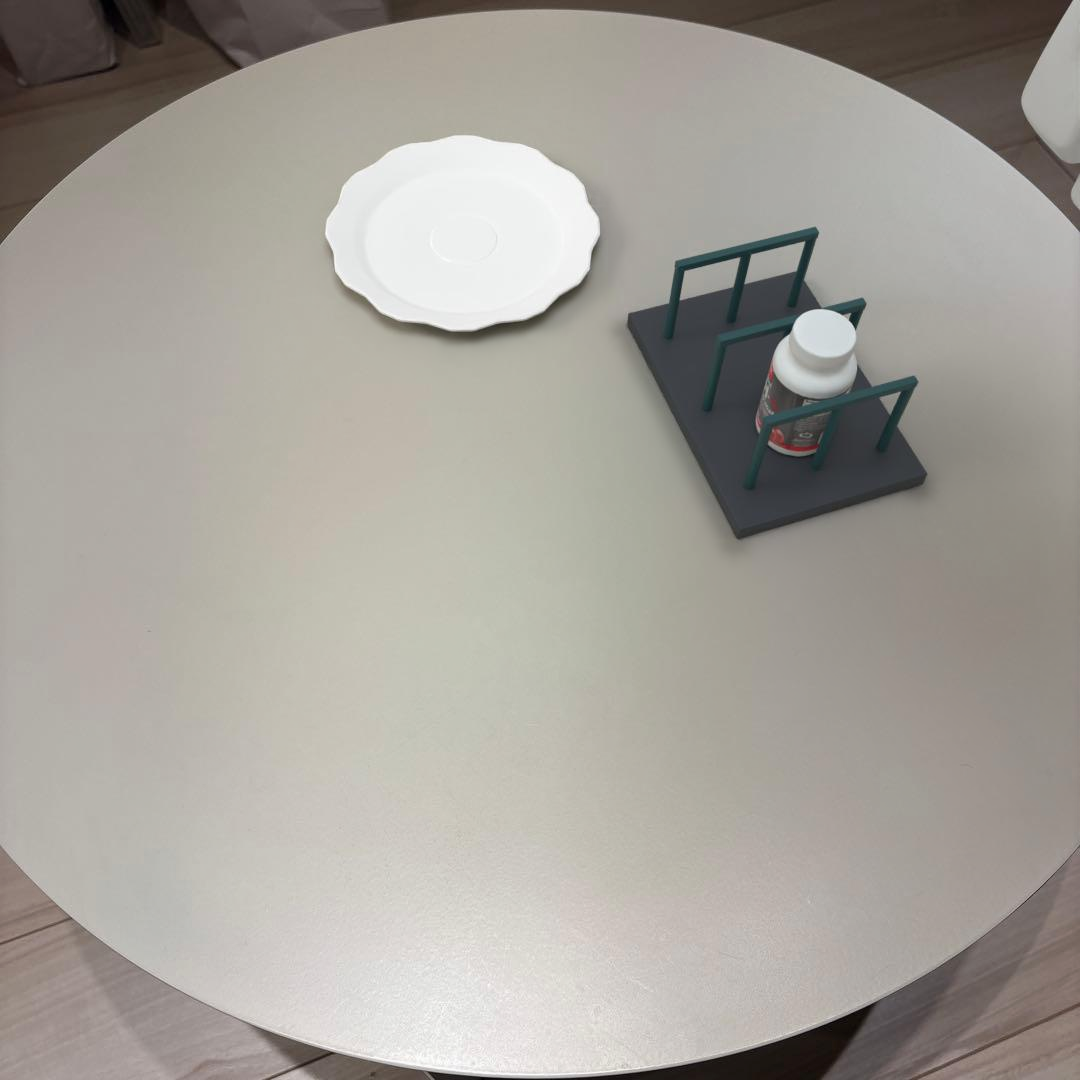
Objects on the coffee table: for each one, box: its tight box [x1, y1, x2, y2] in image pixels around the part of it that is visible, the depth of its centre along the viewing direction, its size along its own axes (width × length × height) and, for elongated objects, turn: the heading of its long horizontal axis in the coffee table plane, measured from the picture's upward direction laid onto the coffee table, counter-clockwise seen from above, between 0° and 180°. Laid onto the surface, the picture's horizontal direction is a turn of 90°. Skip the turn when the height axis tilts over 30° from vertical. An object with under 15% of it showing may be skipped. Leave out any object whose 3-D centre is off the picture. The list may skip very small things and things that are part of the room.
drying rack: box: [626, 226, 928, 539], centre depth 78 cm, size 20×14×8 cm
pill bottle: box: [756, 309, 858, 456], centre depth 75 cm, size 5×5×10 cm
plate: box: [324, 134, 601, 332], centre depth 89 cm, size 21×21×2 cm
